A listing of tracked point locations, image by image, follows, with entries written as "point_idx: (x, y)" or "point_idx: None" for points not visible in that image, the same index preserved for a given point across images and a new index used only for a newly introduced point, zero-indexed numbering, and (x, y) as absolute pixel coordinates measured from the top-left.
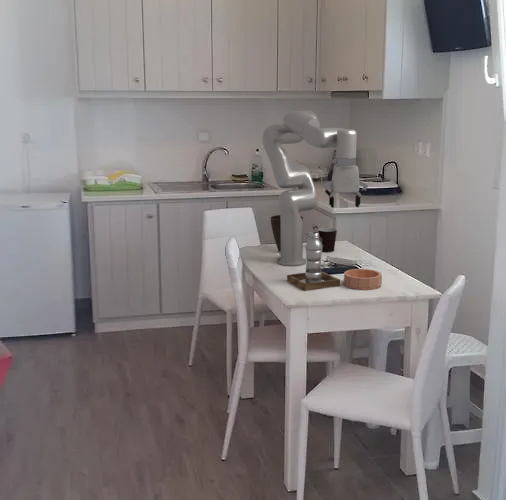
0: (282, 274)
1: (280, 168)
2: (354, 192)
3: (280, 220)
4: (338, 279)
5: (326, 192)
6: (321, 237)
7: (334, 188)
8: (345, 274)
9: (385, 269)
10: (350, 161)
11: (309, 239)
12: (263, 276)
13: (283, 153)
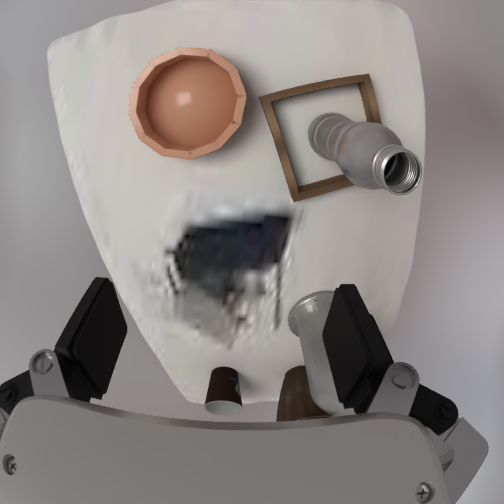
0: (372, 229)
1: None
2: (71, 398)
3: (332, 415)
4: (264, 99)
5: (448, 403)
6: (237, 393)
7: (434, 455)
8: (243, 95)
9: (113, 245)
10: None
11: (404, 166)
12: (412, 219)
13: None
